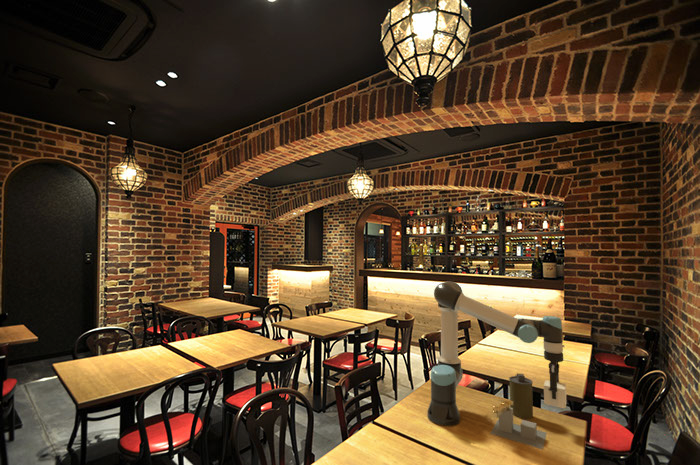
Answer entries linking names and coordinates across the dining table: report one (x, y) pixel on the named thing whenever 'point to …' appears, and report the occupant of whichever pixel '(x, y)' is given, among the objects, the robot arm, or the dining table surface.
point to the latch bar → (501, 407)
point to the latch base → (518, 430)
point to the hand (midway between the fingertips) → (555, 402)
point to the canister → (521, 396)
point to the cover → (561, 394)
